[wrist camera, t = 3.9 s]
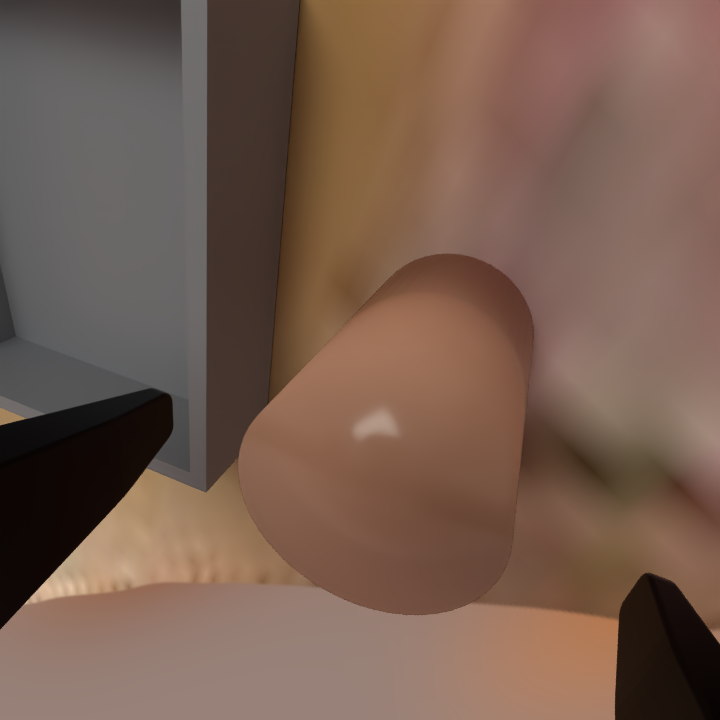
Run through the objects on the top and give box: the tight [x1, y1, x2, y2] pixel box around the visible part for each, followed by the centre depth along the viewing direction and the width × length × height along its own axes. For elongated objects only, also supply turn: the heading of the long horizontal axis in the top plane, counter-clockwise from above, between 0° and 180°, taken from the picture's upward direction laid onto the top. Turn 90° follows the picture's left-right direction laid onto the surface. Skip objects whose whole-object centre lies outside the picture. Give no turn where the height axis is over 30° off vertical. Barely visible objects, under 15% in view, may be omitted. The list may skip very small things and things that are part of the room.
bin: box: [0, 0, 300, 492], centre depth 16 cm, size 12×14×4 cm
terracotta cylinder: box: [238, 254, 533, 615], centre depth 12 cm, size 5×5×8 cm
